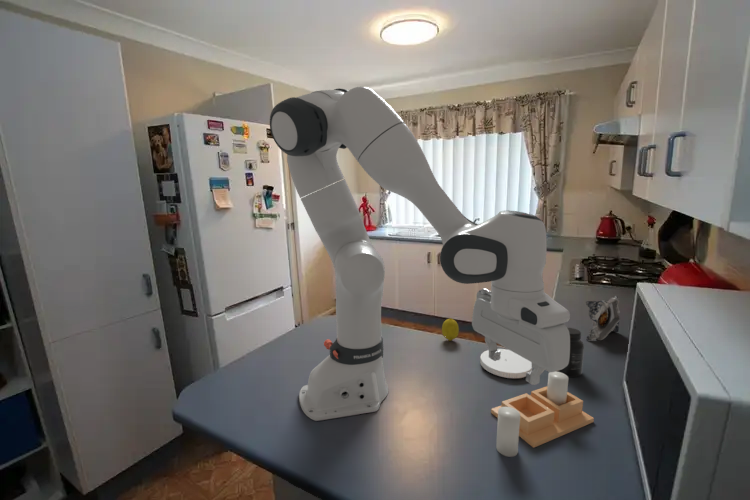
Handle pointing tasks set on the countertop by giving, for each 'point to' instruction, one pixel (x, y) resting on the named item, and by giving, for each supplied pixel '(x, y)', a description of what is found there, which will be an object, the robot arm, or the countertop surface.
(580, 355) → the supplement bottle
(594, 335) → the ornate grey picture frame
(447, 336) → the lemon
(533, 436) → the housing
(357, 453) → the countertop surface
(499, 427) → the peg
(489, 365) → the plastic lid
